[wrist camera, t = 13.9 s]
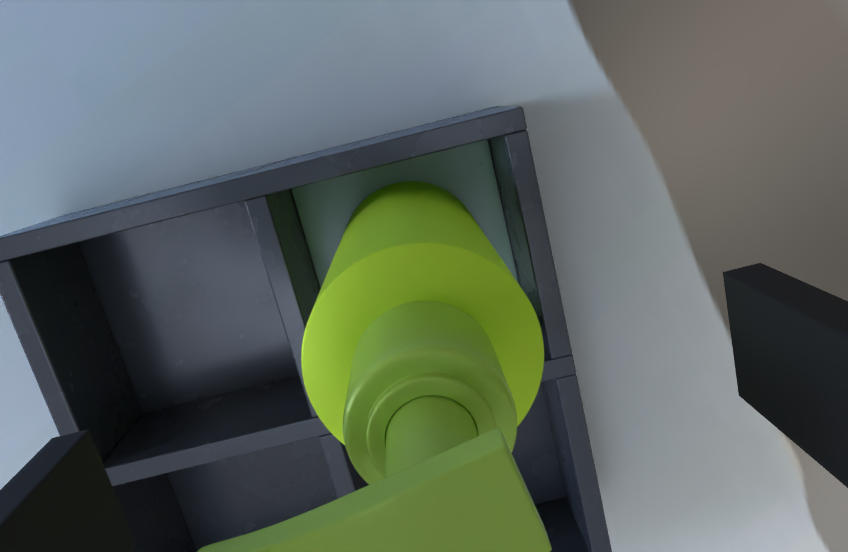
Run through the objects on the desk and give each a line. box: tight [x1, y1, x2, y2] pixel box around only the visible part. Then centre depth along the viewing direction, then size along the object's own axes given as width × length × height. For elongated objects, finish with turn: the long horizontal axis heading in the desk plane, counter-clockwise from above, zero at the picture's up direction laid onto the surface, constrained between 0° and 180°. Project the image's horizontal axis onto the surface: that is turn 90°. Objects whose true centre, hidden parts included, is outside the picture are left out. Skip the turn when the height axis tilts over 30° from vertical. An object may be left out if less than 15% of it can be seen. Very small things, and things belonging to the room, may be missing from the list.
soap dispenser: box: [197, 181, 552, 552], centre depth 19 cm, size 6×7×20 cm
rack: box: [0, 106, 612, 552], centre depth 28 cm, size 19×19×6 cm
